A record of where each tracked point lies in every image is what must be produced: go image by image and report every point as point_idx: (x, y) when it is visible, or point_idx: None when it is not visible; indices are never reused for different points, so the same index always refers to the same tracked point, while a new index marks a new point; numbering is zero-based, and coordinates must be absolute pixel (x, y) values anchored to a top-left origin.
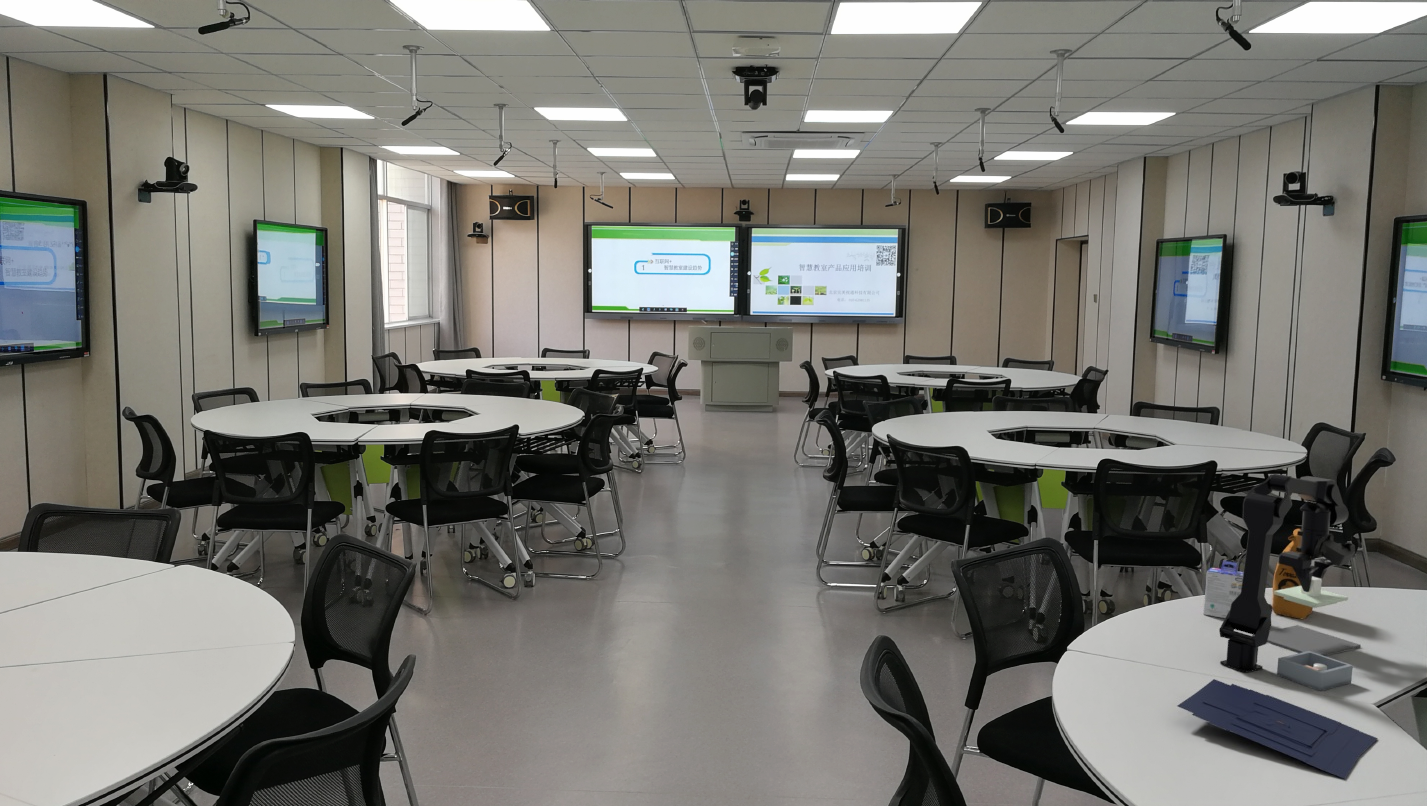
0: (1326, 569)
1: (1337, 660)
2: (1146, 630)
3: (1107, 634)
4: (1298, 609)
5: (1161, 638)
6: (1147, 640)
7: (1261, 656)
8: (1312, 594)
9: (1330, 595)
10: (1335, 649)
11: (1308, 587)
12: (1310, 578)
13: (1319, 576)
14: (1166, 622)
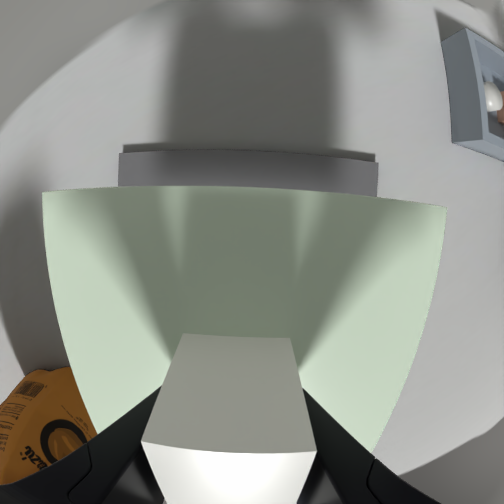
0: (19, 499)
1: (473, 60)
2: (450, 428)
3: (491, 417)
4: (71, 390)
5: (474, 395)
6: (492, 391)
7: (464, 254)
8: (289, 351)
9: (121, 283)
10: (249, 159)
11: (323, 409)
12: (359, 477)
13: (133, 475)
14: (386, 455)
